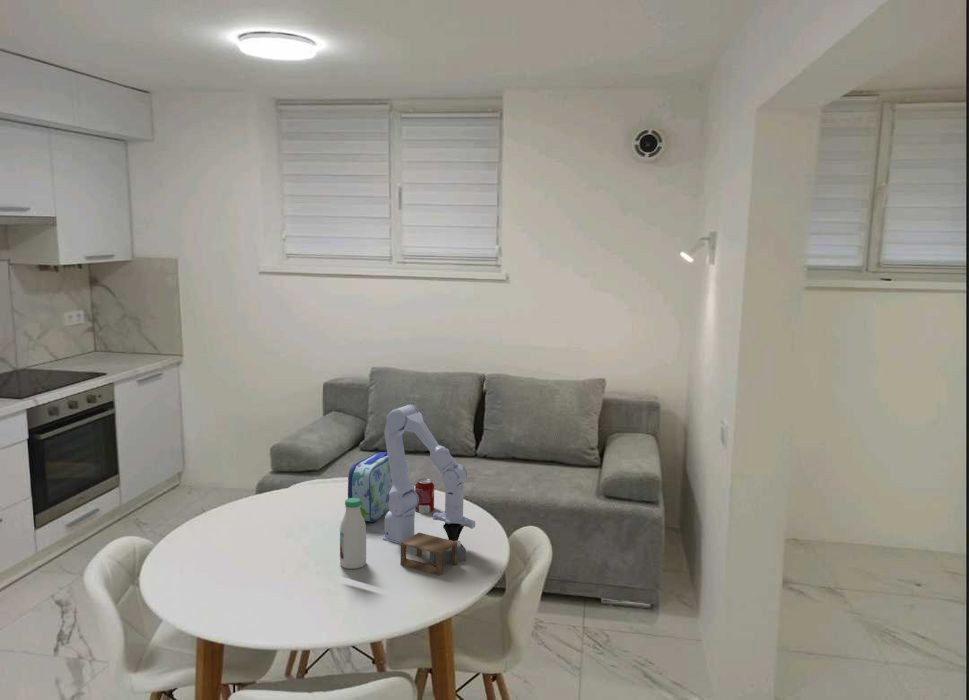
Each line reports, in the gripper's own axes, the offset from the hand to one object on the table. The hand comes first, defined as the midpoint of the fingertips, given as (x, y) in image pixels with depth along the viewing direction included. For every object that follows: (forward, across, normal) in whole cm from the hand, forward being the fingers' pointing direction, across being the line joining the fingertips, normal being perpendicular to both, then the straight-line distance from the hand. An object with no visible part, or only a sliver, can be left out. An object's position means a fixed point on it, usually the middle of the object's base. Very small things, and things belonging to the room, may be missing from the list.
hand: (453, 545), depth 235 cm
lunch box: (+2, -42, +12) cm, 43 cm away
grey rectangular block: (+2, +3, -8) cm, 9 cm away
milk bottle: (+1, -19, -26) cm, 32 cm away
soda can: (+1, -27, +22) cm, 35 cm away
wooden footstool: (+1, 0, -14) cm, 14 cm away
